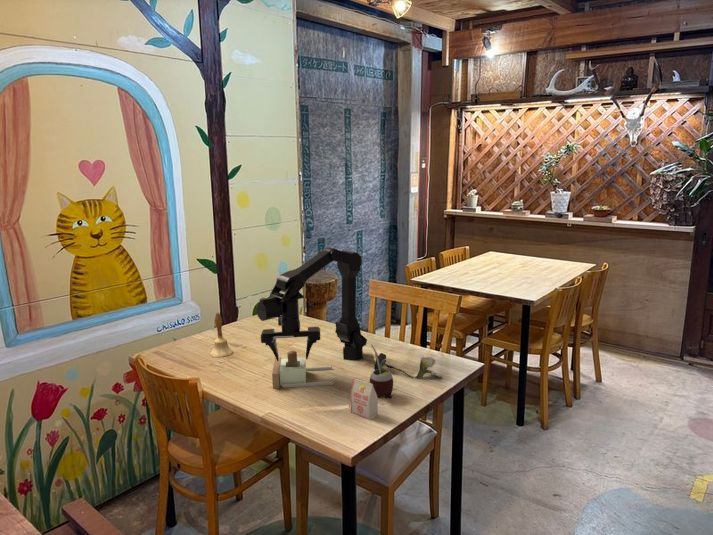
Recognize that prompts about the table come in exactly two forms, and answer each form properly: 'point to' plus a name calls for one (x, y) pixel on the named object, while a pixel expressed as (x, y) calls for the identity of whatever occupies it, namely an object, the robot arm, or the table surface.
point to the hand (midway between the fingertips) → (292, 359)
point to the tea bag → (363, 399)
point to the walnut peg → (292, 359)
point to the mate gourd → (382, 380)
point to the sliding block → (292, 372)
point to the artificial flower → (423, 370)
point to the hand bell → (220, 341)
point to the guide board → (277, 383)
